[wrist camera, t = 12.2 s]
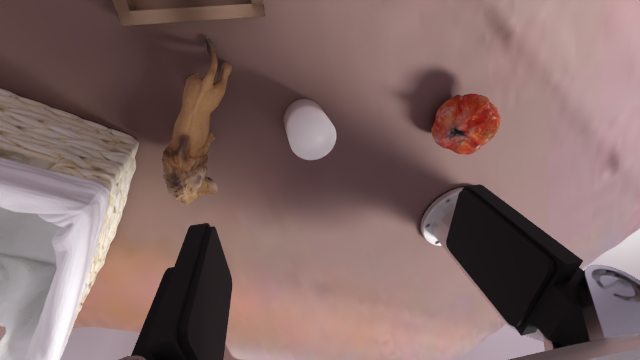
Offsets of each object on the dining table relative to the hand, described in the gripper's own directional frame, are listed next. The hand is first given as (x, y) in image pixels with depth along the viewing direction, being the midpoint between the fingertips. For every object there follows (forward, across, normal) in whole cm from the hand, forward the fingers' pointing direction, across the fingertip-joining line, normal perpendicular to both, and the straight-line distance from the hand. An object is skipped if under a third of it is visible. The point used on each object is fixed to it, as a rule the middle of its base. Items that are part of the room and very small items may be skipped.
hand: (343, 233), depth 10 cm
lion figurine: (+24, +10, +2) cm, 26 cm away
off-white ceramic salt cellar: (+24, -1, +3) cm, 24 cm away
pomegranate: (+25, -21, +5) cm, 33 cm away
